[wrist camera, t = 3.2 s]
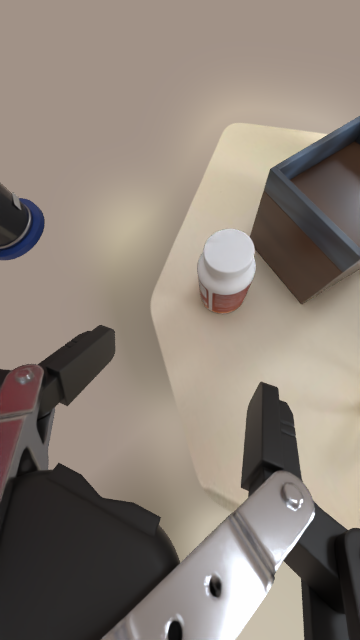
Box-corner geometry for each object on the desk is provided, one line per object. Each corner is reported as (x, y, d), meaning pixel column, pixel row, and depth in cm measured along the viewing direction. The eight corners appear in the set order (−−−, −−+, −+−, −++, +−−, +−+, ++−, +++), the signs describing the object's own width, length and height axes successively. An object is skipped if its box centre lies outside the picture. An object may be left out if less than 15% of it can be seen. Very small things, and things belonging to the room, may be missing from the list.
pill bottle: (252, 286, 30) (276, 237, 19) (230, 322, 29) (243, 292, 18) (213, 267, 31) (216, 211, 21) (191, 301, 30) (183, 261, 20)
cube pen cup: (301, 304, 28) (361, 258, 17) (248, 240, 32) (270, 168, 21) (376, 258, 28) (482, 184, 17) (315, 200, 32) (372, 107, 21)
